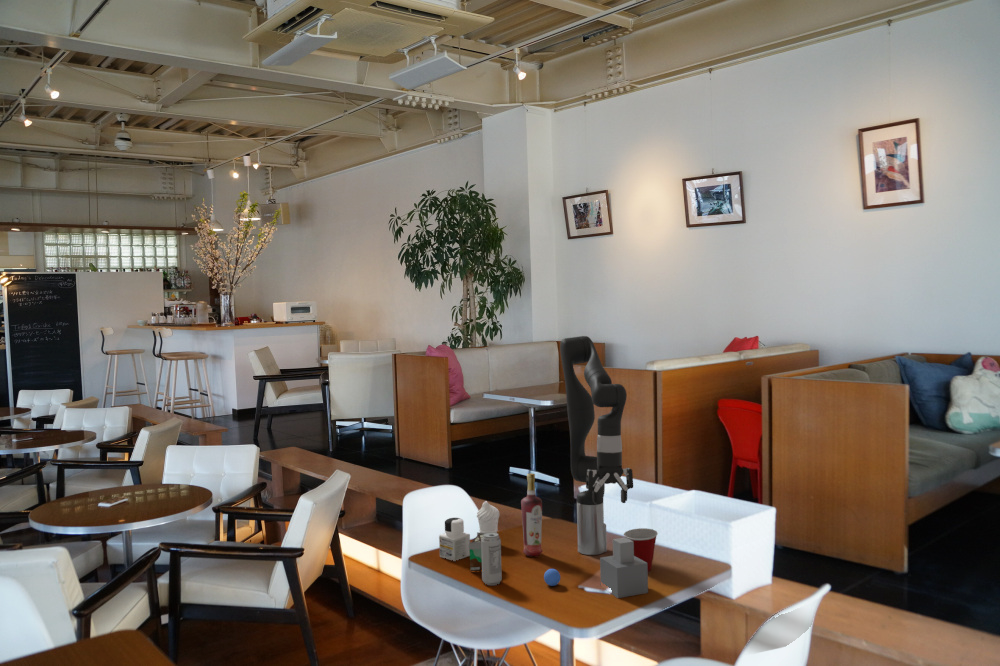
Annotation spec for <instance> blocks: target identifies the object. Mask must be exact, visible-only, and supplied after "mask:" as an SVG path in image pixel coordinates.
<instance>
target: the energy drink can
mask: <svg viewBox="0 0 1000 666" xmlns="http://www.w3.org/2000/svg"><path fill="white" fill-rule="evenodd" d="M481 548H482V571H481V579H482V580H481V581H483V583H485V585H486V584H487V585H486V586H498V585H499V584H501V581H502V579H503V578H502V575H503V574H502V539H501V537H500V535H499V533H494V532H489V533H485V534H483V538H482V540H481ZM497 584H498V585H497Z"/></svg>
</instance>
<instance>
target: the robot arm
mask: <svg viewBox="0 0 1000 666" xmlns="http://www.w3.org/2000/svg"><path fill="white" fill-rule="evenodd" d="M559 346H560V347H559V351H560V357H561V364H562V365H561V366H562V370H563V377H564V383H565V386H564V387H565V396H566V397H565V398H566V410H567V419H568V426H569V439H570V443H569V444H570V471H571V476H572V478H573V480H574V481H577V482H581V483H585V489H586V490H583V491H580V492H578V493H577V494H576V519H577V520H576V521H577V523H576V524H577V526H576V527H577V552H578V553H579V554H583V555H585V556H595V555H597V556H598V555H601V554H604V553H606V552H607V551H608V548H607V546H608V545H607V544H608V542H607V538H608V537H607V524H606V523H605V522H604V521H605V517H604V516H605V515H604V509H605V508H604V496H605V490H606V489H605V488H606V486H605V485H610V484H614V485H615V484H617V485H619V487H620V488H621V489H620V503H622V504H625V503H626V502H627V501H628V491H629V490H631V489H633V488H634V478H633V477H634V476H633V469H632V468H630V467H626V468H623V441H622V424H621V423H622V418H623V414H624V410H625V406H626V402H627V397H628V396H627V390H626V388H625V387H624V385H623V384H620V383H613V382H612V379H611V376H610V375H609V374H608V372H607V371H606V369H605V368H604V367H603V364H602V362H601V360H600V359H601V358H600V356H599V354H598V351H597V348H596V346H595V344H594V342H593V340H592V339H591V338H590V337H589V336H587V335H581V336H574V337H565V338H563V339H561V340H560V345H559ZM584 363H586V365H585V367H584V371H583V377H584V379H585V382H586V383H587V385H588V387H589V388H590V392H591V394H590V392H589V391H588V390H587V389H586V388H585V386H584V385H583V384H582V383H581V381H580V379H579V377H577V374H576V372H575V369H574V365H578V364H584ZM595 406H596V407H598V408H611V409H610V412H608V413H605V414H602V415H600V416H598V418H597V438H596V456H593V455H592V456H591V455H586V453H585V452H586V450H585V449H586V448H585V447H586V445H585V443H586V440H587V437H588V435H589V433H590V431H591V429H592V428H593V425H594V423H595V418H596V415H595ZM623 475H625V478H626V479H625V480H626V483H625V482H624V481H623V479H622V476H623Z"/></svg>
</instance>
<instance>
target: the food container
mask: <svg viewBox="0 0 1000 666" xmlns="http://www.w3.org/2000/svg"><path fill="white" fill-rule="evenodd" d="M483 534H485V533H480V531H479V532H476V536H475V537H474V538H473V539H472V541H470V542H469V550H470V556H469V563H470V565H469V567H470V568H469V569H470V572H471V571H481V570H482V548H481V540H482V538H483ZM481 572H482V571H481Z"/></svg>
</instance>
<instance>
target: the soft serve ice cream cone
mask: <svg viewBox="0 0 1000 666" xmlns="http://www.w3.org/2000/svg"><path fill="white" fill-rule="evenodd" d="M476 514H477V515H476V518H477V520H478V525H479V533H489V532H494V533H497V532H498V531H499V529H498V523H499V518H500V511H499V509H498V508H497V507H495V506H494V505H492V504H490V503H489V502H488V501H487V500H485V501H484V502H482V505H481V508H480V509H479V510H478V511H477V513H476Z"/></svg>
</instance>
